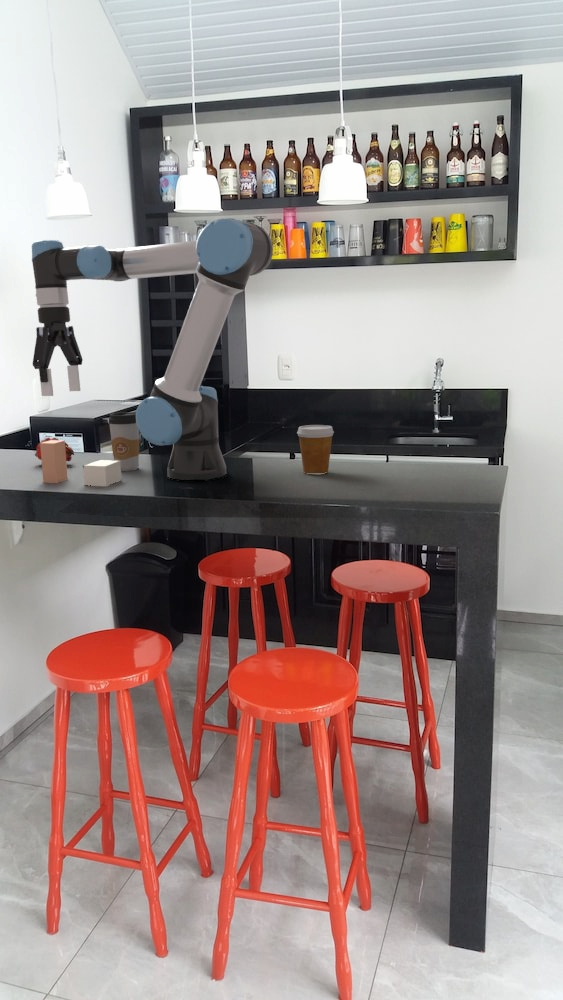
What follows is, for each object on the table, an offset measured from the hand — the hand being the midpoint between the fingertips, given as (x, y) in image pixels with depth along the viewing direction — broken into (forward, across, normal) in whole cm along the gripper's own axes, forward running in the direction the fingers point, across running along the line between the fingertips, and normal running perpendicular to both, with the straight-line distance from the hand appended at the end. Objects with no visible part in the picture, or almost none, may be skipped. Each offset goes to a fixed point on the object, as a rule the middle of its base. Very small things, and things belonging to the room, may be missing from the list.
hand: (61, 393), depth 208 cm
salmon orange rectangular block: (+22, +2, -3) cm, 22 cm away
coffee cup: (+22, -16, +8) cm, 29 cm away
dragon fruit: (+22, -19, -15) cm, 33 cm away
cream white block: (+22, +3, +10) cm, 25 cm away
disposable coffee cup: (+24, -19, +60) cm, 67 cm away
